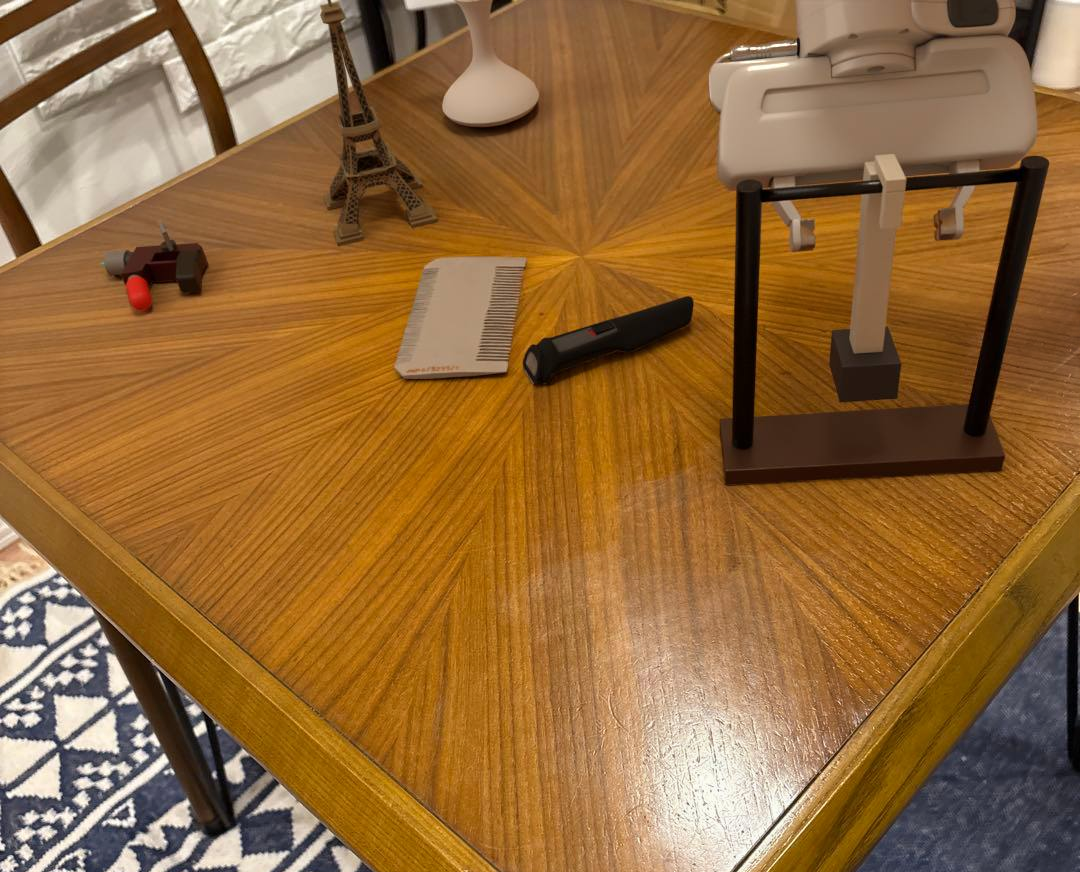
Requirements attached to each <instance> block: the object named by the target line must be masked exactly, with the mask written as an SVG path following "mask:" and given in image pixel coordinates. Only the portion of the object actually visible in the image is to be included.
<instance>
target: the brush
mask: <svg viewBox="0 0 1080 872" xmlns="http://www.w3.org/2000/svg"><path fill="white" fill-rule="evenodd" d="M906 177H907V176H906ZM906 177H905V175H904V173H903V171H902V169H901V167H900V164H899V162H898V160H897V158H896V156H895V154H885V155H876V156H875V161H872V162H865V164H864V176H863V180H862V181H868V180H880V181H881V184H882V186H883V190H882V193H875V194H863V195H861V200H860V210H859V211H860V212H859V222H858V223H859V224H858V233H857V246H856V257H855V270H854V279H853V280H854V281H853V290H852V291H853V292H852V303H851V315H850V328H841V329H832V330H831V334H830V335H831V336H830V346H829V347H830V348H829V361H828V365H829V370H830V373H831V377H832V379H833V384H834V388H835V391H836V394H837V399H838V402H839V403H855V402H856V403H857V402H872V401H873V402H874V401H888V400H897V399H898V397H899V387H900V380H901V372H902V360H901V357H900V355H899V352H898V350H897V346H896V344H895V341H894V339H893V335H892V333H891V330H890V328H889V326H888V325H887V316H888V308H889V299H890V289H891V281H892V273H893V272H892V271H893V263H894V253H895V247H896V245H895V244H896V235H897V229H901V228H902V222H903V215H904V207H905V197H906V191H905V188H906Z"/></svg>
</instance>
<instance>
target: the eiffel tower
mask: <svg viewBox="0 0 1080 872" xmlns="http://www.w3.org/2000/svg"><path fill="white" fill-rule="evenodd" d="M320 10H321V12H320V14H319V16H320V18H321V21H322V24H324V25H328V32H329V39H330V44H331V50H332V57H333V63H334V71H335V77H336V85H337V94H338V101H339V110H340V114H336V124H337V129H338V131H339V134H340V136H341V137H342V151H341V153H338V157H339V162H340V165H339V167H338V168H337V170H336V173H335V175H334V177H333V179H332V181H331V184H330V185H329V192H327V193H326V194H323V199H324V202H325V206H326V209H327V211H329V210H333V209H337V208H341V207H342V210H341V213H340V215H339V218H338V221H337V224H338V225H336V229H333V234H334V237H335V241H336V244H337V246H343V245H347V244H351V243H354V242H355V243H356V242H359V241H363V240H365V237H364V233H363V230H362V227H361V224H360V221H359V218H360V200H361V197H363V195H364V194H365V192H366V191H367V190H369V189H371V188H373V187H377V186H384V187H387V188H389V189H391V190H393V191H394V192H395V193H396V195H397V196H398V198H399V200H401V202H402V203H403V205H404V207H405V208H406V209H405V213H406V217H407V219H408V221H409V224H410V226H411V228H415V227H420V226H423V225H424V226H425V225H427V224H432V223H436V222H438V217H437V214H436V212H435V210H434V208H433V206H432V205H428V203H426V201H425V199H423V198H422V197H421V196H420V195H419V194H418V193H417V192H416V191H415V189H419V188H423V183H422V181H421V177H420V176H419V173H418V172H412V171H411V169H410V168H409V167H408V166H407V165H406V164H405V163H404V162H403V161H401V160H400V159H399V158H398V157H397V156H395V154H393V151H392V149H391V146H390V143H389V142H388V141H387V142H385V141H384V140H383V138H382V135H381V133H380V129H381V128H382V125H381V123H380V120H379V118H378V115H377V112H376V109H374V106H373V105H372V106H370V105H369V101H368V99H367V97H366V94H365V90H364V88H363V85H362V82H361V79H360V77H359V74H358V71H357V68H356V65H355V62H354V58H353V56H352V52H351V50H350V47H349V43H348V40H347V37H346V33H345V31H344V27H343V24H342V22H343V21H345V20H346V19H347V16H346V14H345V12H344V10H343V8H342V6H341V4H340V1H339V0H338V1H333V2H332V0H327V3H325V4H320ZM348 77H349V80H350V84H351V86H352V89H353V92H354V95H355V97H356V101H357V103H358V105H359V108H360V111H357V112H352V106H351V97H350V90H349V82H348ZM370 140H372V142H373V147H370V148H364V149H360V150H357V146H356V144H357V143H361V142H366V141H370ZM328 209H329V210H328Z"/></svg>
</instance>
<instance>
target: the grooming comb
mask: <svg viewBox="0 0 1080 872" xmlns="http://www.w3.org/2000/svg"><path fill="white" fill-rule="evenodd" d="M526 264H527V257H522V256H521V257H520V256H519V257H515V256H514V257H513V256H512V257H509V256H454V257H453V256H451V257H450V256H449V257H440V258H435V259H433V260H431V261H429V262H428V263H427V264H426V265H424V266H423V270H422V273H421V276H420V278H419V283H418V287H417V289H416V291H415V292H416V293H415V297H414V300H413V304H412V306H411V310H410V313H409V317H408V320H407V323H406V328H405V330H404V332H403V333H404V334H403V337H402V340H401V343H400V347H399V349H398V353H397V357H396V360H395V363H394V366H393V368H394V370H395V371H396V372H398V374H399V375H400V376H401V377H402V378H404V379H406V380H423V379H424V380H429V379H431V380H432V379H445V378H460V377H461V378H462V377H476V376H484V375H495V374H503V373H508V369H509V362H508V361H509V360H510V358H509V357H510V354H511V351H510V350H511V349H512V348H511V347H512V344H513V342H512V340H513V336H514V335H513V334H514V331H513V330H514V329H515V327H516V325H515V324H516V319H515V318H517V316H516V315H517V312H519V311H518V307H519V305H520V303H519V302H520V301H519V300H520V297H521V292H522V288H523V286H522V285H523V279H524V278H523V277H524V273H525V271H524V268H526Z"/></svg>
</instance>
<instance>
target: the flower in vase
mask: <svg viewBox="0 0 1080 872" xmlns="http://www.w3.org/2000/svg"><path fill="white" fill-rule="evenodd" d="M454 1H455V3H456V4H457V5H458V6H459V7H460V9H461V11H462V13H463V15H464V17H465V21H466V23H467V26H468V30H469V34H470V40H471V47H472V59H471V62H470V63H469V66H468V67H467V68H466V69H465V70H464V71H463V72H462V74H460V76H458V77H457V78H456V80H455V81H454V82H453V83H452V84H451V85H450V86H449V88H448V90H447V91H446V92H445V94H444V96H443V100H442V107H441V109H442V111H443V113H444V115H445V116H446V117H447V118H448V119H449V120H451V121H452V122H453V123H456V124H458V125H461V126H466V127H471V128H490V127H497V126H502V125H505V124H508V123H512V122H513V121H517V120H519V119H521V118H523V117H524V116H526V115H528V114H529V113H530V112H531V111H532V110H533V109H534V108H535V106H536V105H537V103H538V100H539V98H540V92H539V89H538V88H537V86H536V83H535V82H534V81H533V80H532V79H531V78H529V77H528V76H527V75H525V74H524V73H523V72H521V71H519V70H518V69H516V68H514V67H512V66H510V65H509V64H506V63H505V62H503V61H502V60H500V59H499V57H498V56H497V55H496V53H495V49H494V46H493V40H492V33H491V10H492V5H493V1H494V0H454Z"/></svg>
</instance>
